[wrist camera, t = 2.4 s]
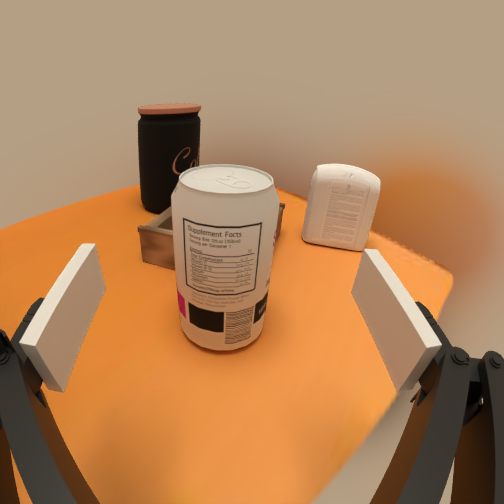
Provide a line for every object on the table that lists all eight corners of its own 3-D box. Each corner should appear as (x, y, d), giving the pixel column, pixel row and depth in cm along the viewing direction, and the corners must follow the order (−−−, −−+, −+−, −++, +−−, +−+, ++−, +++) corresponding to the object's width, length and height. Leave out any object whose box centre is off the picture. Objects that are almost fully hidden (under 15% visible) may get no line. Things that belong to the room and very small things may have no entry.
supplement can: (164, 321, 29) (150, 175, 22) (224, 288, 35) (229, 157, 27) (219, 370, 25) (221, 207, 17) (279, 325, 30) (303, 181, 22)
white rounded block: (362, 241, 47) (380, 168, 41) (366, 254, 44) (387, 177, 37) (301, 231, 48) (313, 156, 42) (300, 244, 45) (314, 163, 38)
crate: (141, 260, 38) (137, 227, 35) (191, 215, 50) (190, 187, 48) (255, 290, 35) (259, 253, 32) (281, 232, 47) (285, 203, 45)
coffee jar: (180, 220, 49) (179, 108, 39) (130, 209, 51) (124, 109, 42) (208, 198, 57) (212, 104, 48) (162, 190, 60) (161, 103, 50)
